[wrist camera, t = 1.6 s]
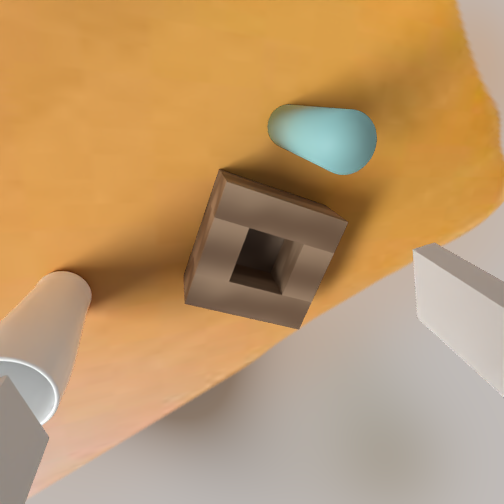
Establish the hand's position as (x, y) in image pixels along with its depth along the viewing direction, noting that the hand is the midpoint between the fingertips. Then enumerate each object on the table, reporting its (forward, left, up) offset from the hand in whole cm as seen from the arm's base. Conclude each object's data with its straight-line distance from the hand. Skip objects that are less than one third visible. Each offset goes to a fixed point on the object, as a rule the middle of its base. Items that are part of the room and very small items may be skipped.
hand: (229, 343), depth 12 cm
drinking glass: (+15, -9, -27) cm, 33 cm away
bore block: (+4, +8, -27) cm, 29 cm away
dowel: (-8, +7, -27) cm, 29 cm away
